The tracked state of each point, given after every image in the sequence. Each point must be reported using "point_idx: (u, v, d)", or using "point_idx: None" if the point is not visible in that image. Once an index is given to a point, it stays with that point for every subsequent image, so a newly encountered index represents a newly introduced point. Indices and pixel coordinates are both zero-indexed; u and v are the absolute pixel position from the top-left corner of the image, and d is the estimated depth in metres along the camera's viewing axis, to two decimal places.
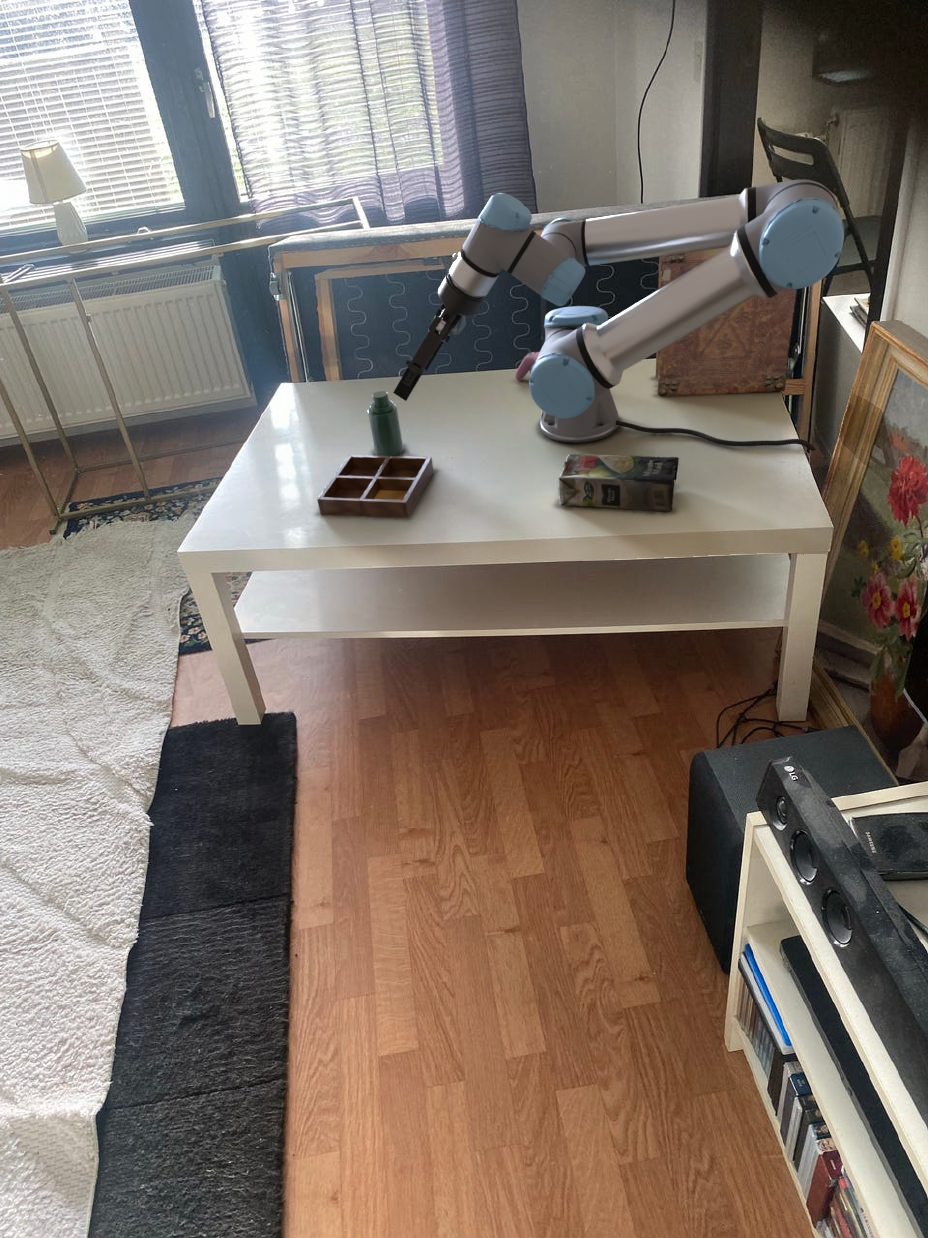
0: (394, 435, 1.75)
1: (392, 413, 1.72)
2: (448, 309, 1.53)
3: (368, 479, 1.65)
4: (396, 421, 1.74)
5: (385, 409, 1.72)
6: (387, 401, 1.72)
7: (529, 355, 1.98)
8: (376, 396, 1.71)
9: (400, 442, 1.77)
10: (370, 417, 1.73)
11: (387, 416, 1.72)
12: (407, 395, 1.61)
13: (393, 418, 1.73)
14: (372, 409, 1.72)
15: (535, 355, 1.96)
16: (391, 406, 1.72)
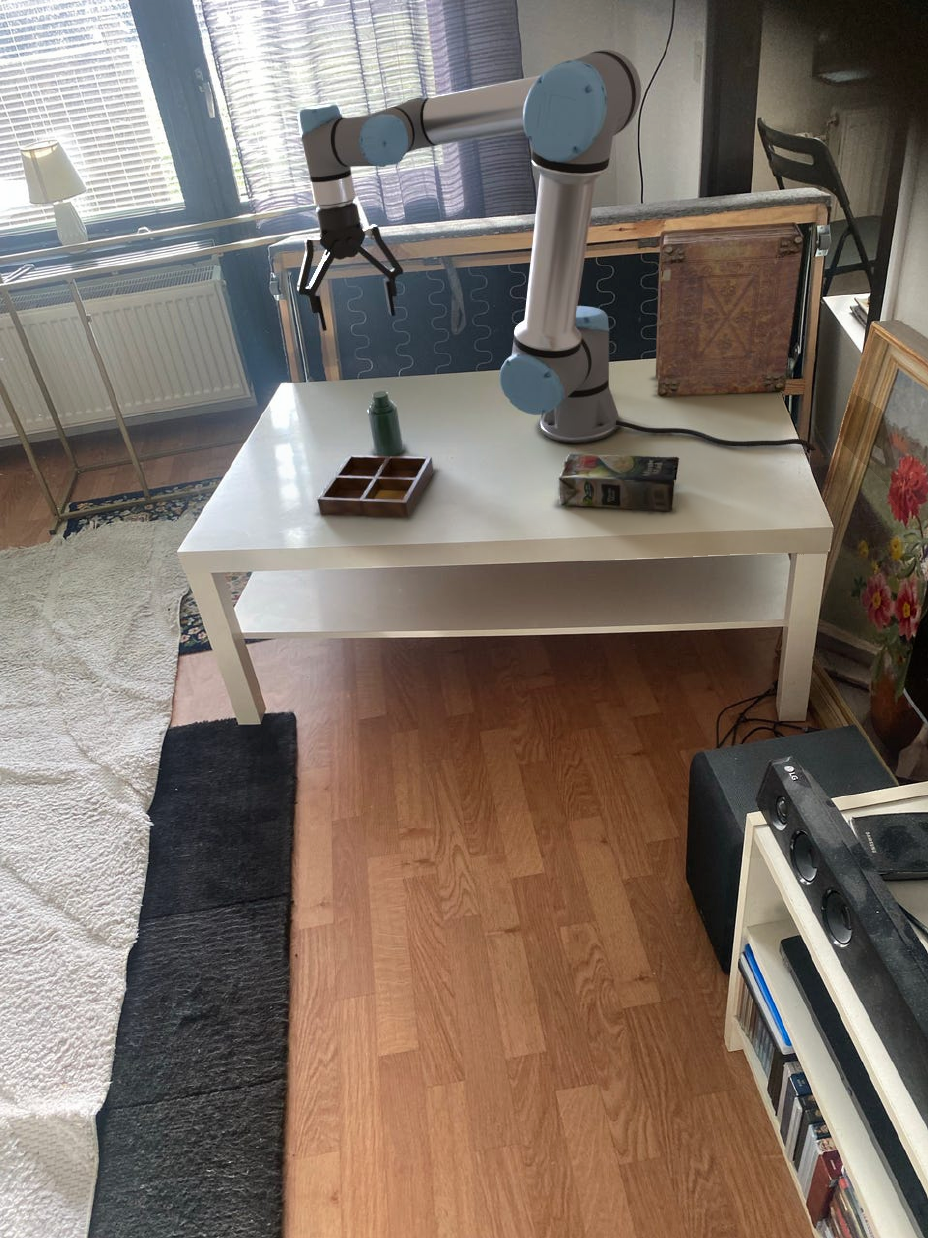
0: (394, 435, 1.75)
1: (392, 413, 1.72)
2: None
3: (368, 479, 1.65)
4: (396, 421, 1.74)
5: (385, 409, 1.72)
6: (387, 401, 1.72)
7: None
8: (376, 396, 1.71)
9: (400, 442, 1.77)
10: (370, 417, 1.73)
11: (387, 416, 1.72)
12: (321, 324, 1.72)
13: (393, 418, 1.73)
14: (372, 409, 1.72)
15: None
16: (391, 406, 1.72)
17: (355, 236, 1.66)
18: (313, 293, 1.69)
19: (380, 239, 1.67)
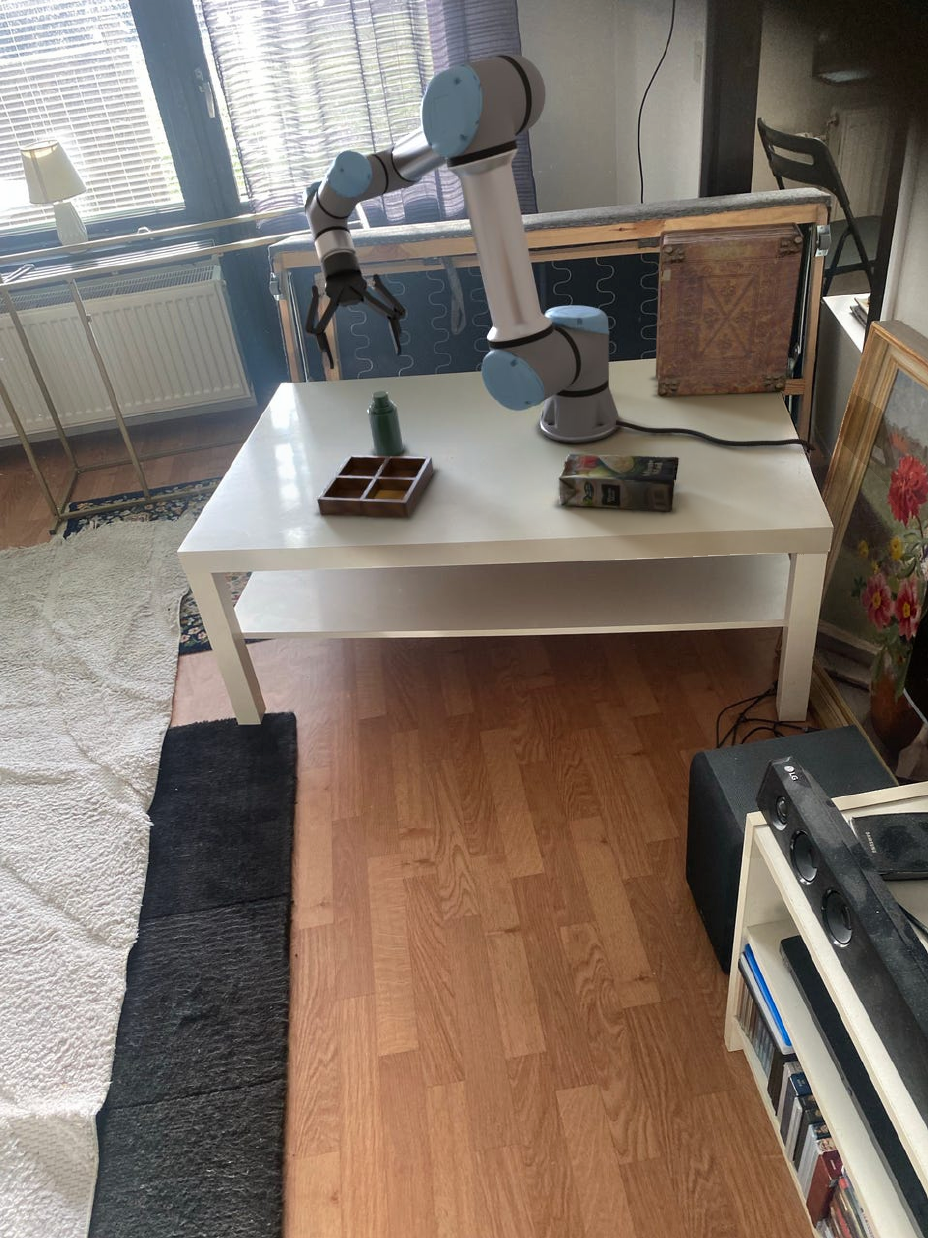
0: (394, 435, 1.75)
1: (392, 413, 1.72)
2: (325, 282, 1.80)
3: (368, 479, 1.65)
4: (396, 421, 1.74)
5: (385, 409, 1.72)
6: (387, 401, 1.72)
7: None
8: (376, 396, 1.71)
9: (400, 442, 1.77)
10: (370, 417, 1.73)
11: (387, 416, 1.72)
12: (328, 358, 1.76)
13: (393, 418, 1.73)
14: (372, 409, 1.72)
15: None
16: (391, 406, 1.72)
17: (357, 282, 1.79)
18: (319, 330, 1.76)
19: (381, 284, 1.79)
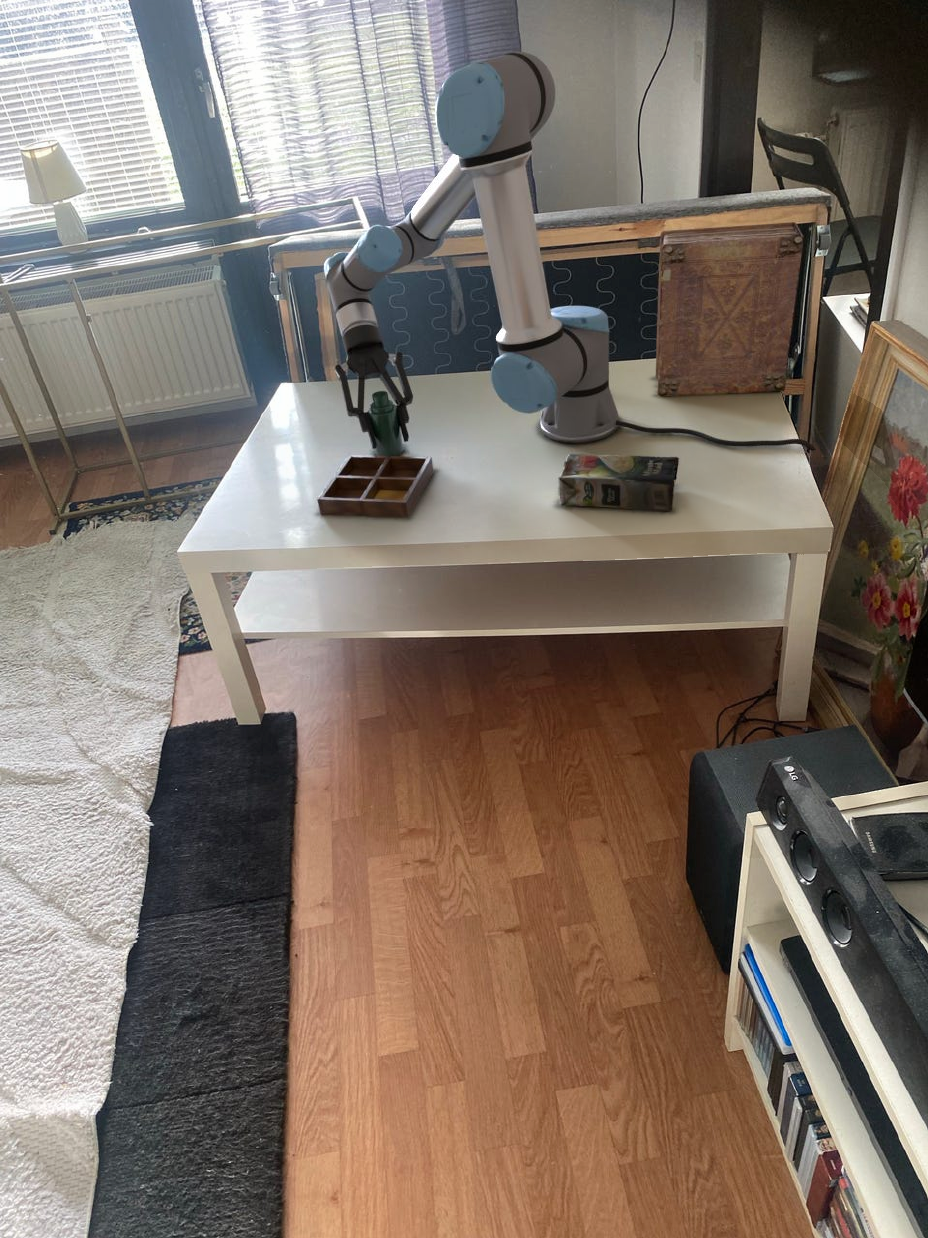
0: (394, 435, 1.75)
1: (392, 413, 1.72)
2: (346, 354, 1.76)
3: (368, 479, 1.65)
4: (396, 421, 1.74)
5: (385, 409, 1.72)
6: (387, 401, 1.72)
7: None
8: (376, 396, 1.71)
9: (400, 442, 1.77)
10: (370, 417, 1.73)
11: (387, 416, 1.72)
12: (371, 439, 1.73)
13: (393, 418, 1.73)
14: (372, 409, 1.72)
15: None
16: (391, 406, 1.72)
17: (379, 354, 1.76)
18: (362, 409, 1.73)
19: (400, 363, 1.76)
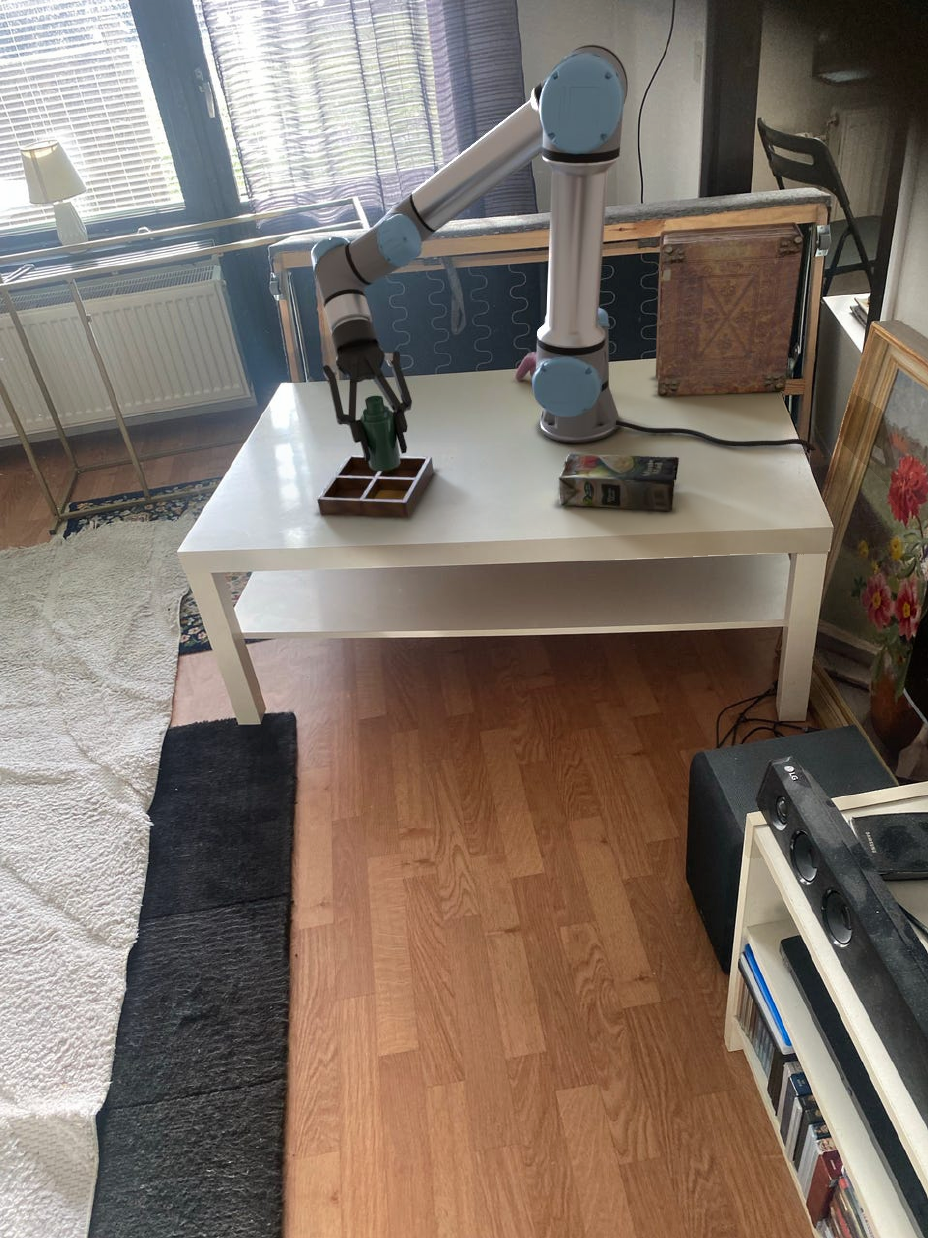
0: (390, 446, 1.53)
1: (388, 421, 1.51)
2: (336, 354, 1.54)
3: (368, 479, 1.65)
4: (392, 430, 1.52)
5: (380, 416, 1.50)
6: (382, 407, 1.50)
7: (529, 355, 1.98)
8: (370, 401, 1.49)
9: (397, 454, 1.55)
10: (363, 425, 1.51)
11: (382, 425, 1.50)
12: (364, 450, 1.51)
13: (390, 427, 1.51)
14: (365, 416, 1.51)
15: (535, 355, 1.96)
16: (387, 413, 1.51)
17: (373, 354, 1.54)
18: (353, 416, 1.51)
19: (398, 364, 1.54)
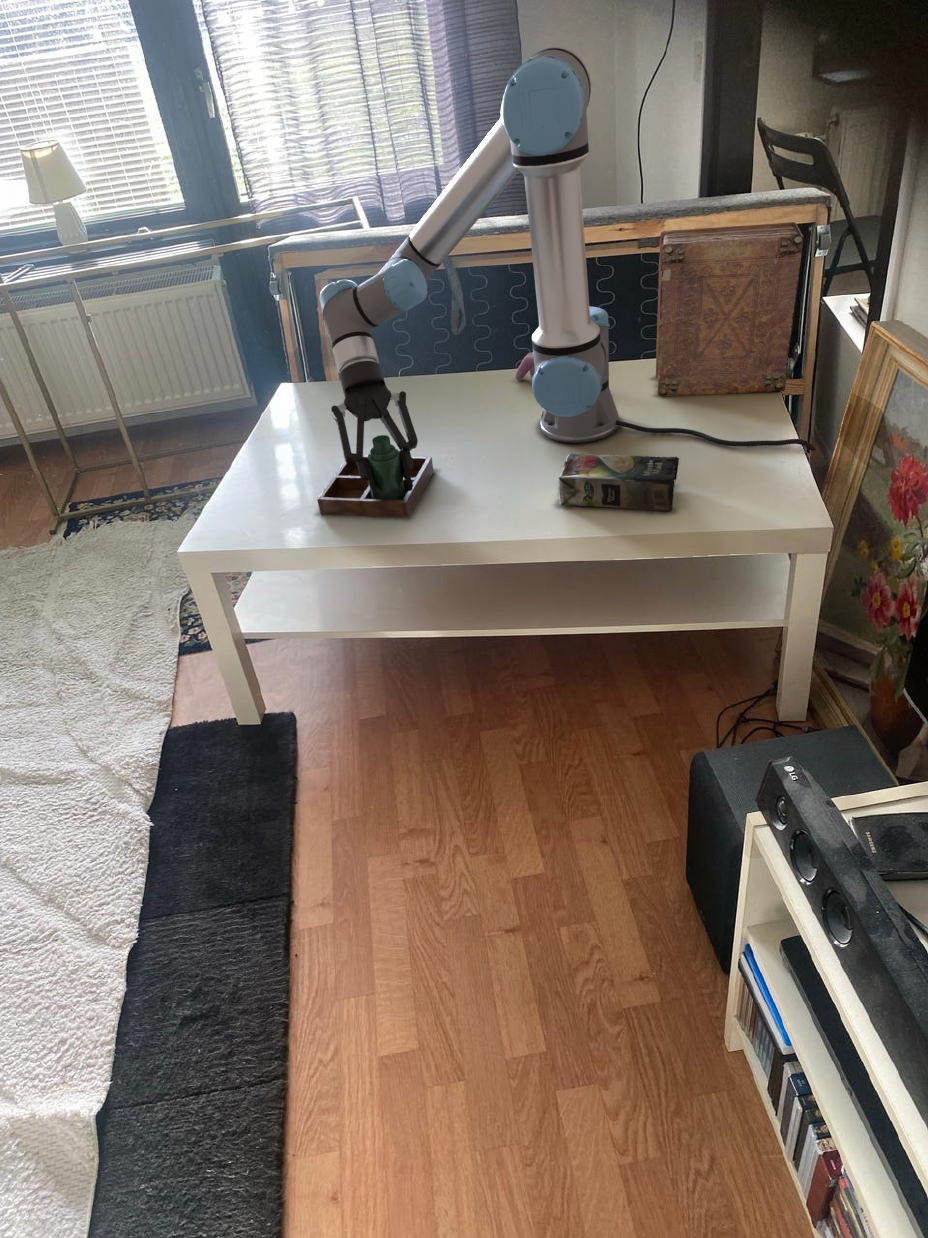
0: (396, 484, 1.57)
1: (394, 460, 1.55)
2: (344, 394, 1.59)
3: None
4: (399, 468, 1.57)
5: (387, 456, 1.54)
6: (389, 447, 1.55)
7: (529, 355, 1.98)
8: (377, 441, 1.54)
9: (403, 491, 1.60)
10: (370, 464, 1.56)
11: (388, 464, 1.55)
12: (371, 488, 1.55)
13: (396, 466, 1.56)
14: (372, 455, 1.55)
15: None
16: (393, 452, 1.55)
17: (380, 394, 1.58)
18: (361, 455, 1.56)
19: (404, 404, 1.58)
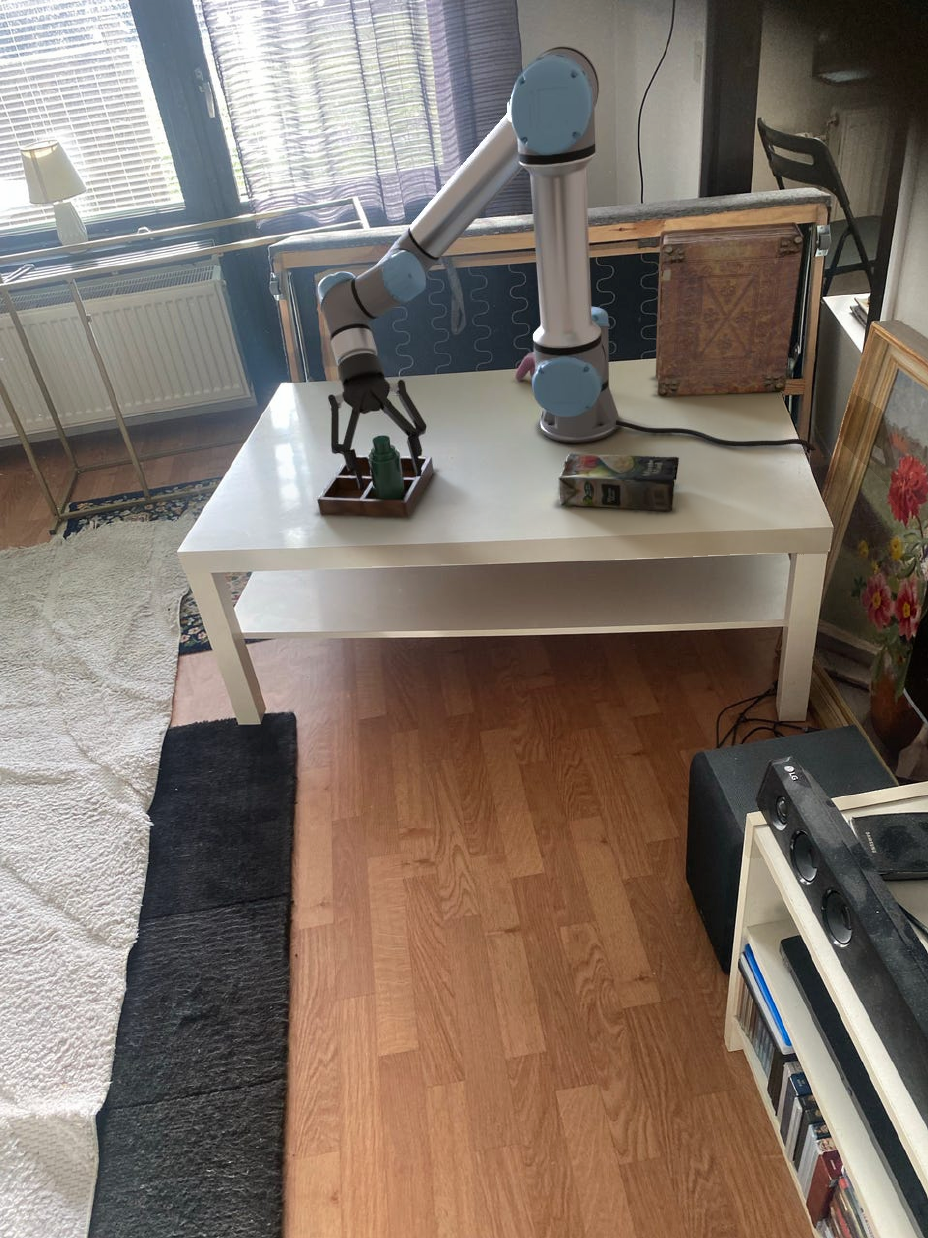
0: (396, 484, 1.57)
1: (394, 460, 1.55)
2: None
3: (368, 479, 1.65)
4: (399, 469, 1.57)
5: (387, 456, 1.54)
6: (389, 447, 1.55)
7: (529, 355, 1.98)
8: (377, 442, 1.54)
9: (403, 491, 1.60)
10: (370, 464, 1.56)
11: (388, 464, 1.55)
12: (357, 479, 1.54)
13: (396, 466, 1.56)
14: (372, 456, 1.55)
15: None
16: (393, 452, 1.55)
17: (379, 386, 1.57)
18: (347, 446, 1.55)
19: (405, 392, 1.58)
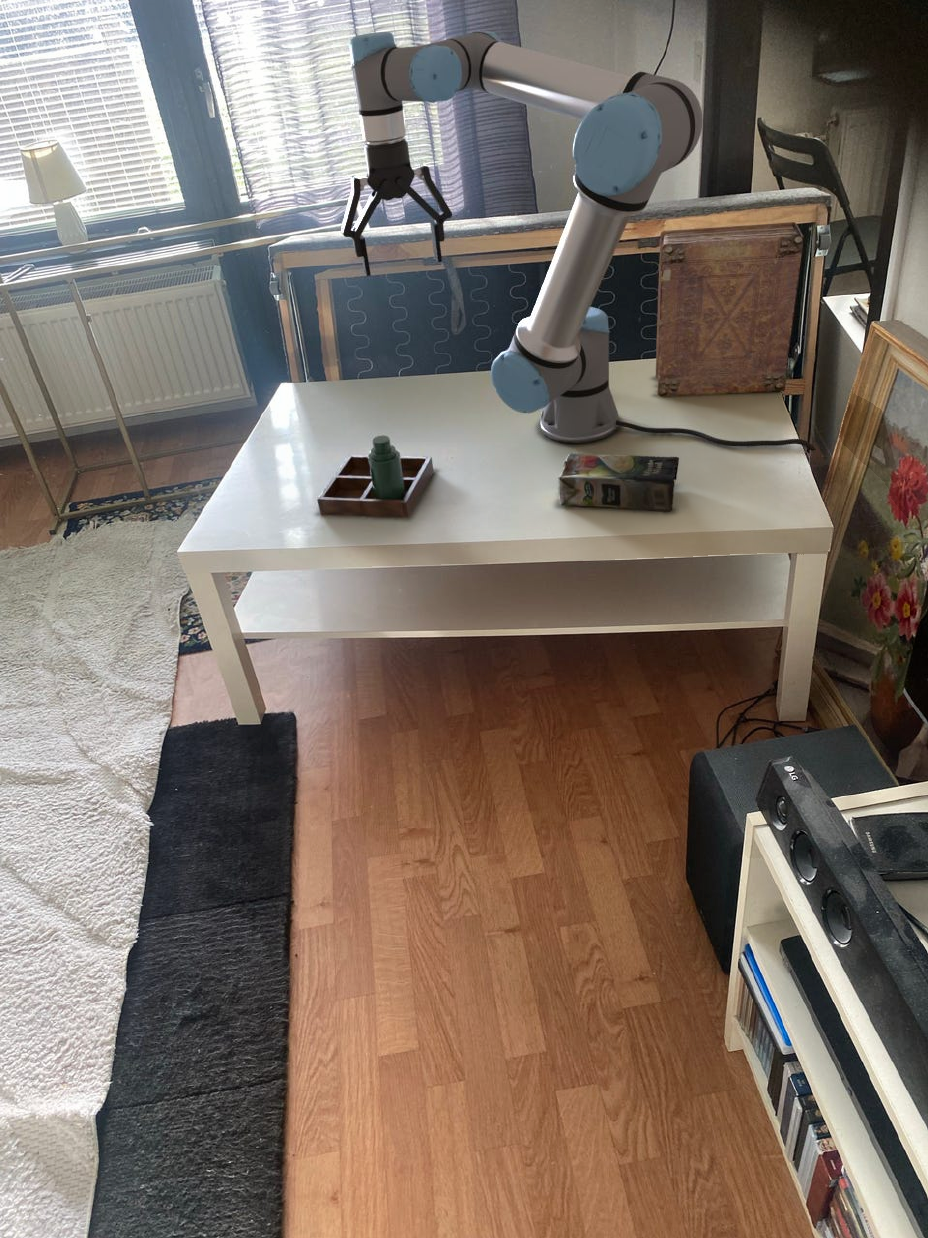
0: (396, 484, 1.57)
1: (394, 460, 1.55)
2: (367, 167, 1.57)
3: (368, 479, 1.65)
4: (399, 469, 1.57)
5: (387, 456, 1.54)
6: (389, 447, 1.55)
7: None
8: (377, 442, 1.54)
9: (403, 491, 1.60)
10: (370, 464, 1.56)
11: (388, 464, 1.55)
12: (365, 269, 1.65)
13: (396, 466, 1.56)
14: (372, 456, 1.55)
15: None
16: (393, 452, 1.55)
17: (404, 176, 1.58)
18: (358, 235, 1.61)
19: (430, 180, 1.60)
